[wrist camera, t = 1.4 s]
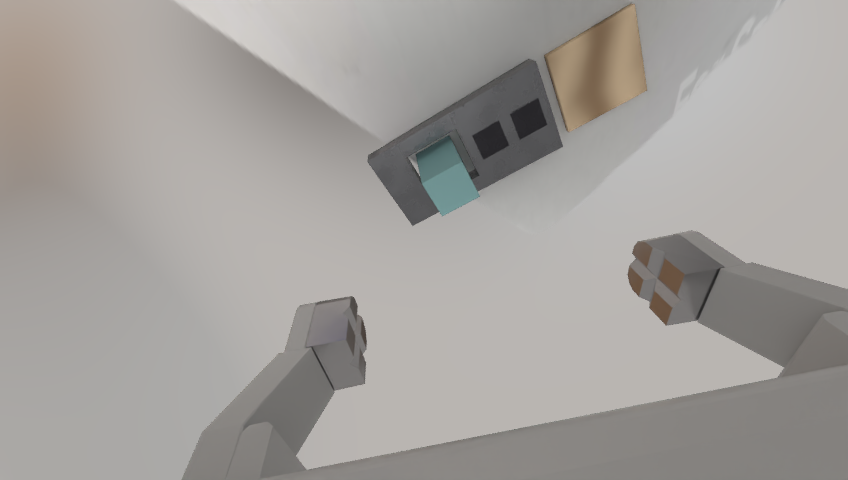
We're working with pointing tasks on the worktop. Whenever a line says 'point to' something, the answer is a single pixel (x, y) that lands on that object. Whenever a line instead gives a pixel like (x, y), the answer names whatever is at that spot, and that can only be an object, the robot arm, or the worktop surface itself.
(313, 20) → the worktop surface
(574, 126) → the pad
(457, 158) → the upright teal block
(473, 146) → the grey slotted board
